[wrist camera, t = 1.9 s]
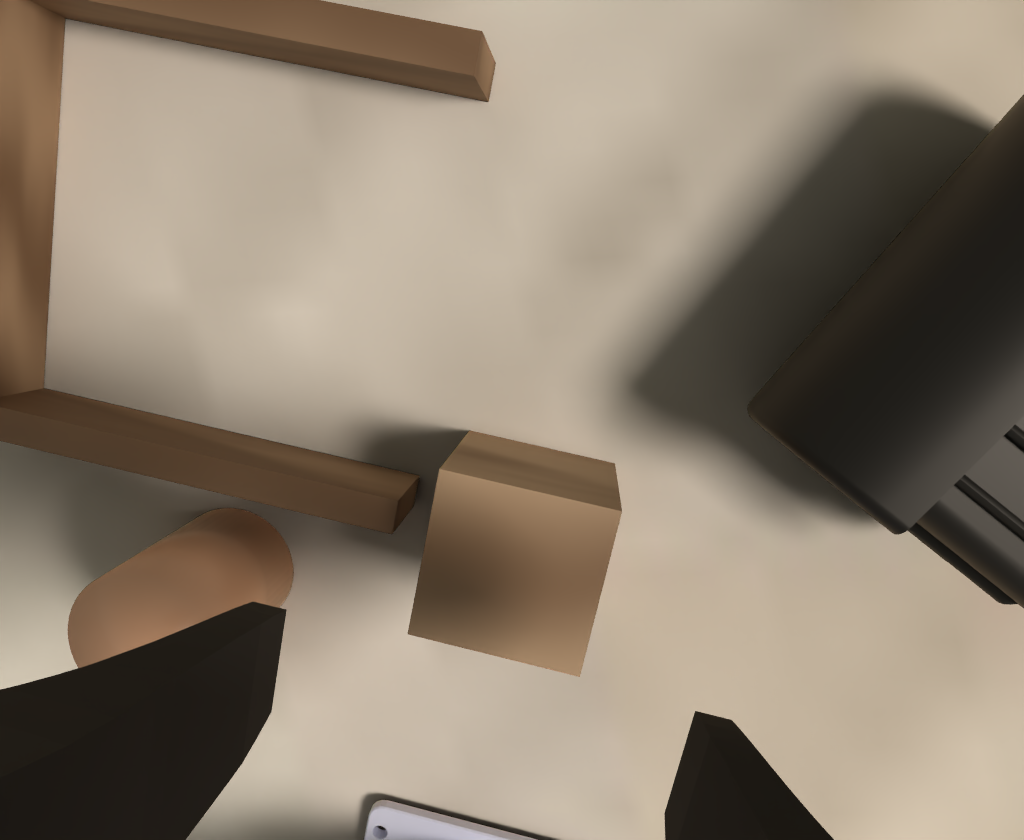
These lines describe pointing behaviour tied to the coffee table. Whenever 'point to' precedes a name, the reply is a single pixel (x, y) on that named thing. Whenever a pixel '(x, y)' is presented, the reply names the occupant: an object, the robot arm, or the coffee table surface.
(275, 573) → the tan rounded capsule
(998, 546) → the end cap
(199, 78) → the coffee table surface
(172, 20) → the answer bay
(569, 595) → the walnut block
